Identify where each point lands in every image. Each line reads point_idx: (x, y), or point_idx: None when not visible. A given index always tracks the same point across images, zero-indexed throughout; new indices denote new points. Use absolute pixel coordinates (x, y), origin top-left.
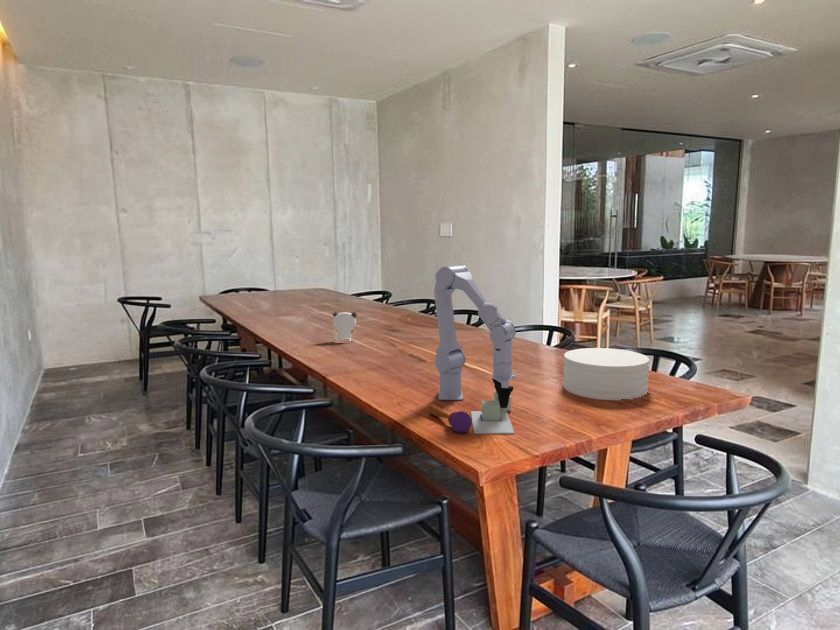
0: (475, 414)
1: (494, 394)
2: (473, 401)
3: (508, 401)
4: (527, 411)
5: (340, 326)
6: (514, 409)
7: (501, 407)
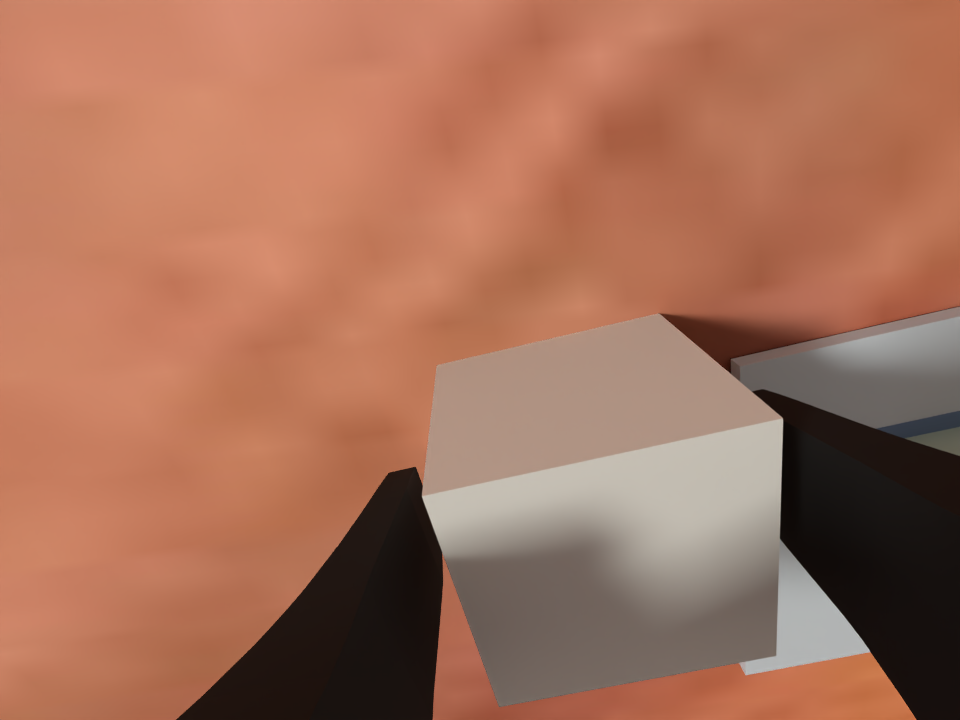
0: (845, 630)
1: (613, 683)
2: None
3: (862, 424)
4: (660, 46)
5: None
6: (584, 276)
7: None
